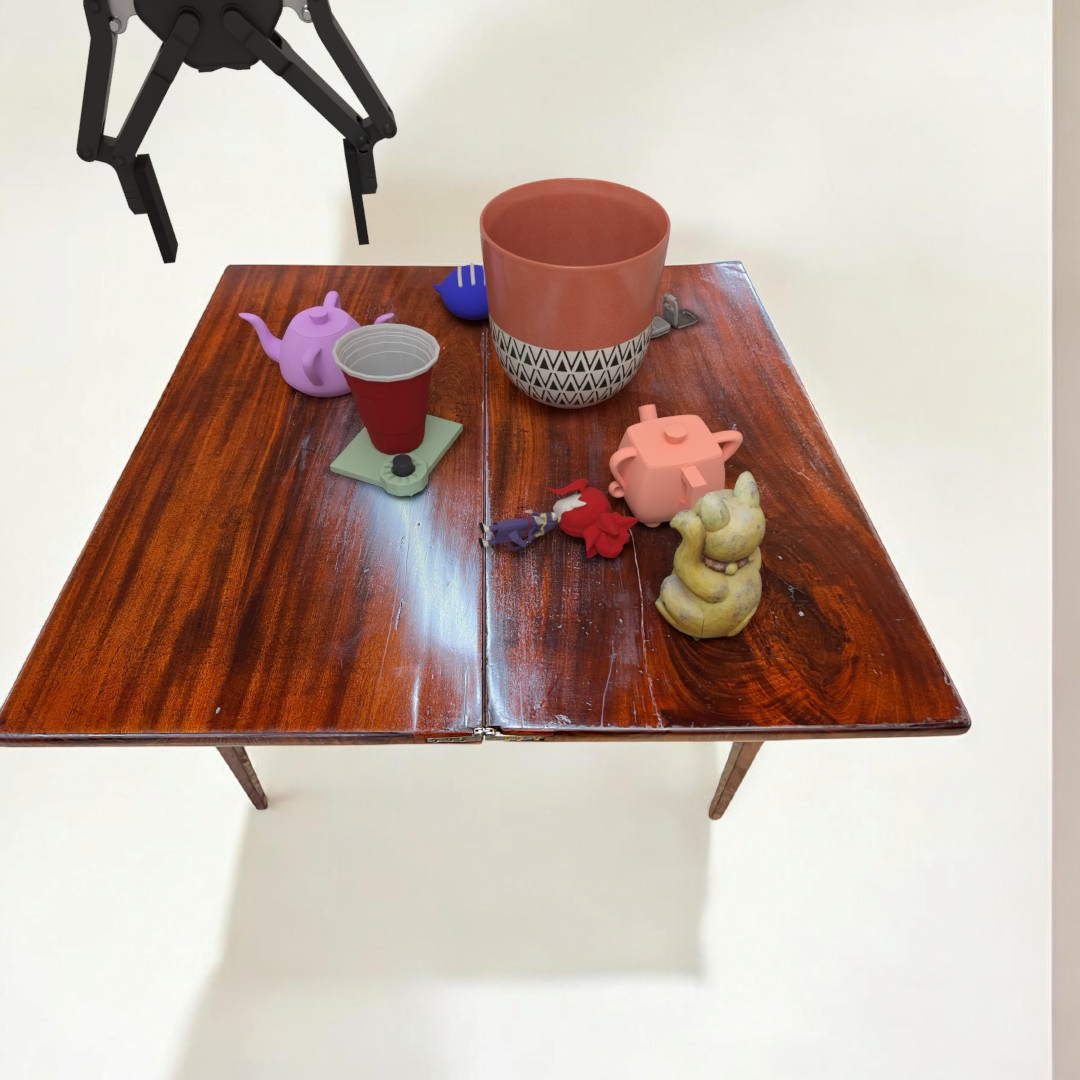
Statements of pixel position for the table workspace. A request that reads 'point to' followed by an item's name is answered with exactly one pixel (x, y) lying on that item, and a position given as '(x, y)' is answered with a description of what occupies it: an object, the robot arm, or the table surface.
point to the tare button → (402, 465)
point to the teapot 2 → (669, 464)
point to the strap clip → (671, 317)
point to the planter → (572, 285)
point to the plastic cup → (389, 381)
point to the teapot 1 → (311, 347)
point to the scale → (378, 467)
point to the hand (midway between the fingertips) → (268, 245)
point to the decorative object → (465, 292)
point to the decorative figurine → (716, 563)
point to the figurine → (569, 522)
